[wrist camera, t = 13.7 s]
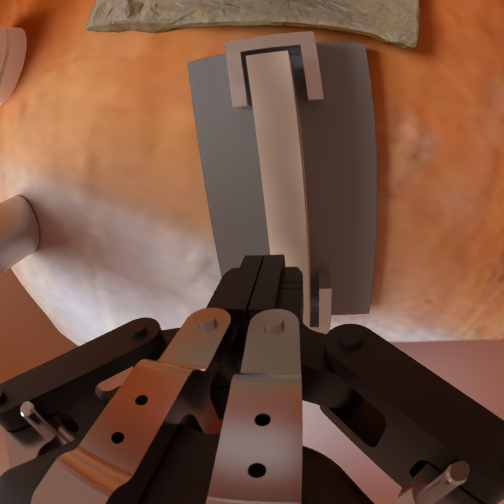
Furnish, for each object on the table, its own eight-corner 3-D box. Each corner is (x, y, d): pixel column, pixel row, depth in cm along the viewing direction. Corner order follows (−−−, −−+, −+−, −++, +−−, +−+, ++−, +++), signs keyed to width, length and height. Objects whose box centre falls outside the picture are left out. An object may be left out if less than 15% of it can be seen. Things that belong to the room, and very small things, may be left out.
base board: (232, 305, 30) (229, 314, 29) (194, 65, 20) (187, 62, 19) (366, 304, 27) (368, 313, 25) (361, 47, 17) (364, 42, 15)
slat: (284, 298, 26) (278, 333, 22) (259, 70, 18) (245, 55, 14) (310, 297, 26) (309, 333, 21) (292, 66, 18) (287, 50, 13)
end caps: (267, 315, 28) (263, 335, 25) (235, 51, 18) (224, 42, 15) (328, 315, 26) (329, 335, 24) (312, 42, 16) (313, 31, 14)
